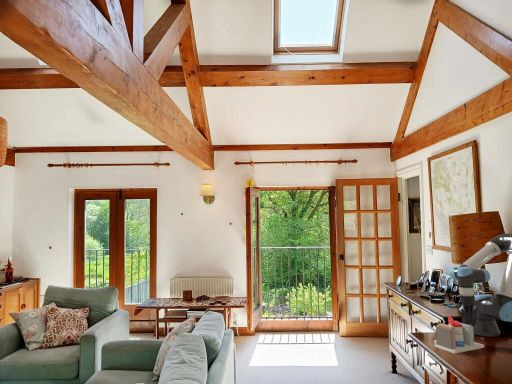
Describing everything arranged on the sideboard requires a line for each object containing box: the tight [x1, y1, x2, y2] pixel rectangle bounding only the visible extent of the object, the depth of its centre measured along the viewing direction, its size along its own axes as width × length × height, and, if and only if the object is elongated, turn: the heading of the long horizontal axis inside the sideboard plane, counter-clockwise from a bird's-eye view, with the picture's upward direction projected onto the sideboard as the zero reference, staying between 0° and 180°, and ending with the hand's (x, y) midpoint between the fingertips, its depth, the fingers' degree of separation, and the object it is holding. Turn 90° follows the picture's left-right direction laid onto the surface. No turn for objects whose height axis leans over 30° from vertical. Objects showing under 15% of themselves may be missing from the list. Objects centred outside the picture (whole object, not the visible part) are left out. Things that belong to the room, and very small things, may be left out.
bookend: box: [460, 322, 475, 346], centre depth 205 cm, size 2×9×10 cm, turn 21°
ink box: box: [447, 315, 464, 347], centre depth 203 cm, size 8×5×15 cm, turn 168°
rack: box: [434, 323, 485, 354], centre depth 203 cm, size 22×13×12 cm, turn 111°
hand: (470, 338), depth 206 cm, fingers closed
